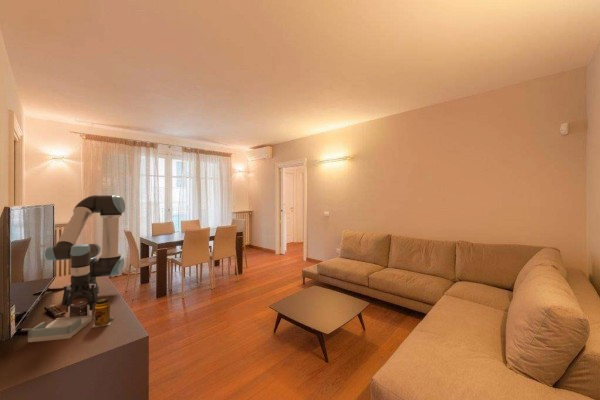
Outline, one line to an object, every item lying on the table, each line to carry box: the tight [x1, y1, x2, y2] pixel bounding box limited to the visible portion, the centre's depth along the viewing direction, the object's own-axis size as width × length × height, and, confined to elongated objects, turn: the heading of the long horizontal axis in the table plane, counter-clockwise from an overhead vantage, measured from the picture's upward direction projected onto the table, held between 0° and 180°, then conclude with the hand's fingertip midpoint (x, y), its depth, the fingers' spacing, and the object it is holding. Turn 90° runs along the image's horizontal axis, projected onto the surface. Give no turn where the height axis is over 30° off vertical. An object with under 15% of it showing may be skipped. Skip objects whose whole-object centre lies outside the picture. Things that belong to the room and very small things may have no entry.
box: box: [70, 301, 89, 317], centre depth 129 cm, size 6×6×7 cm
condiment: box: [91, 297, 115, 328], centre depth 124 cm, size 7×8×12 cm
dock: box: [27, 314, 94, 343], centre depth 117 cm, size 17×16×5 cm
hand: (80, 316), depth 129 cm, fingers open, 8 cm apart
